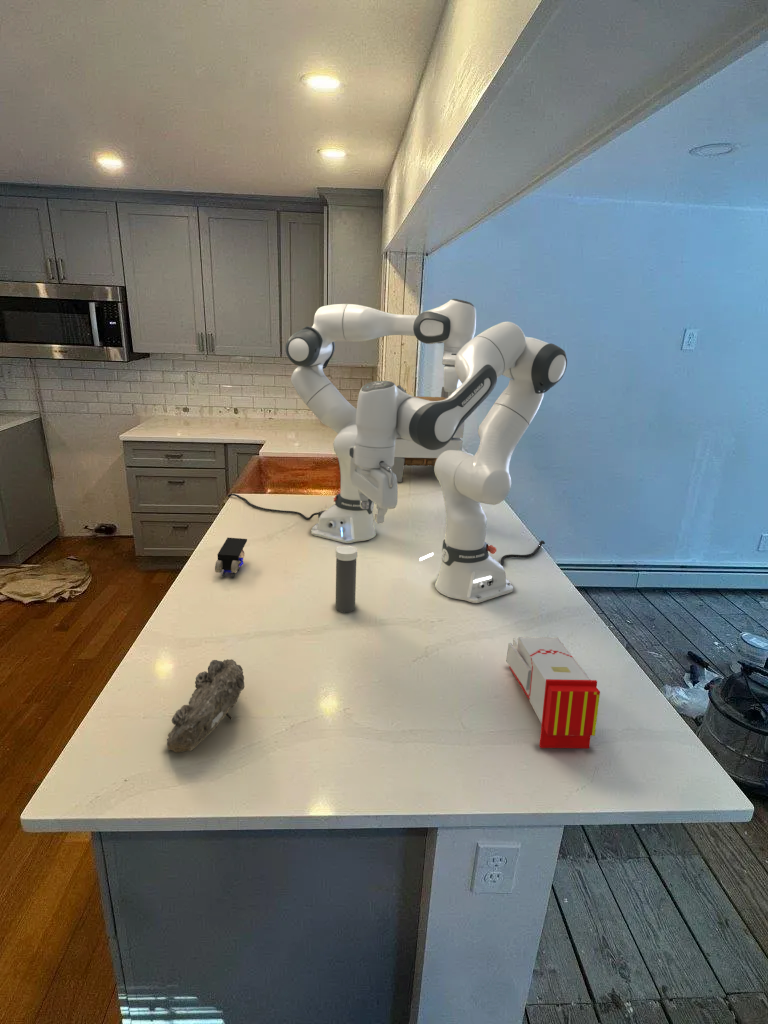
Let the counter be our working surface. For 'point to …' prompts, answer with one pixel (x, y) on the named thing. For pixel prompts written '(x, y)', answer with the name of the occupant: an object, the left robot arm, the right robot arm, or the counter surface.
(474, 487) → the right robot arm
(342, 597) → the dark gray cylinder
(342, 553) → the lid
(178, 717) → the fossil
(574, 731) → the toy
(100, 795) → the counter surface
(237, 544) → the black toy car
